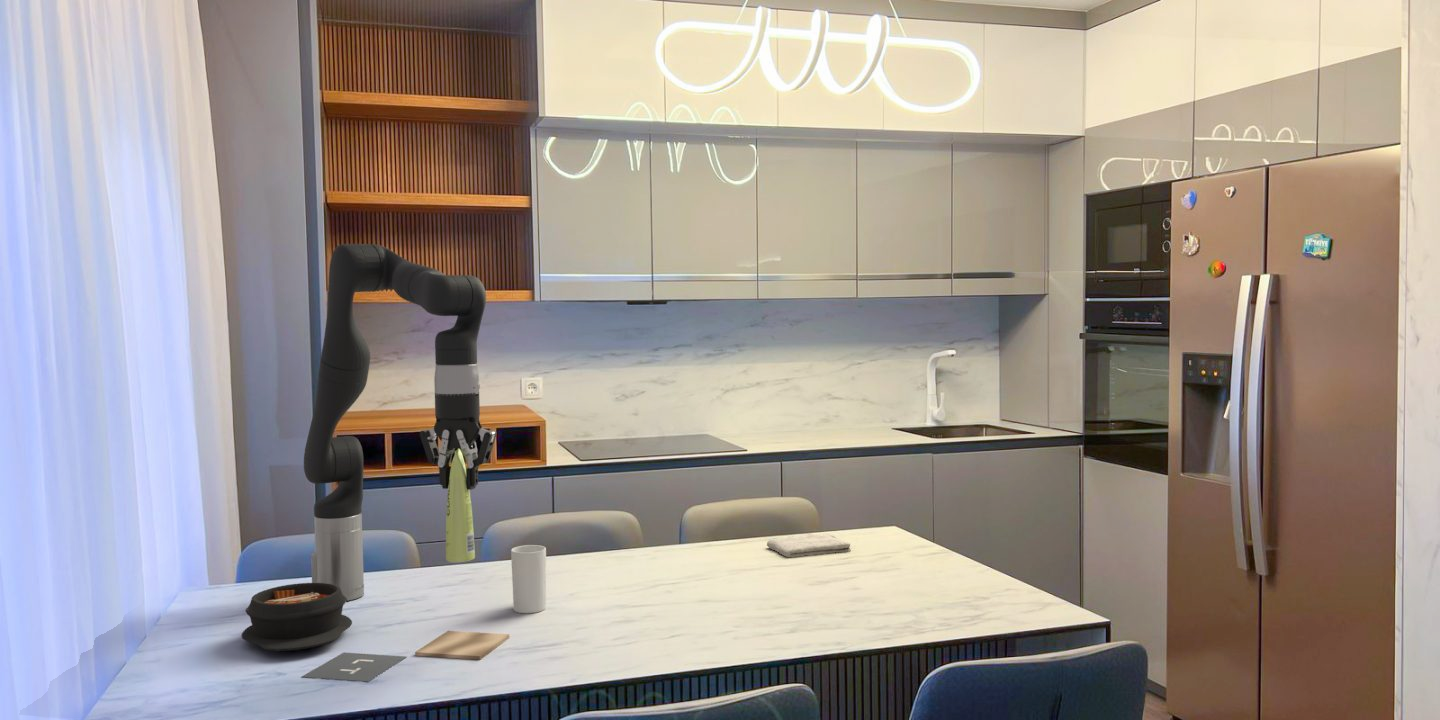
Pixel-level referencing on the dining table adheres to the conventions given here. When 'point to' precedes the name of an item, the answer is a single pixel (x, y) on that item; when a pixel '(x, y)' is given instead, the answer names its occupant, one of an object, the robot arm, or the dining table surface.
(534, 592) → the mug
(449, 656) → the cork pad
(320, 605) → the casserole
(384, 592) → the dining table surface
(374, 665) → the label
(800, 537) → the washcloth
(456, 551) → the tube
